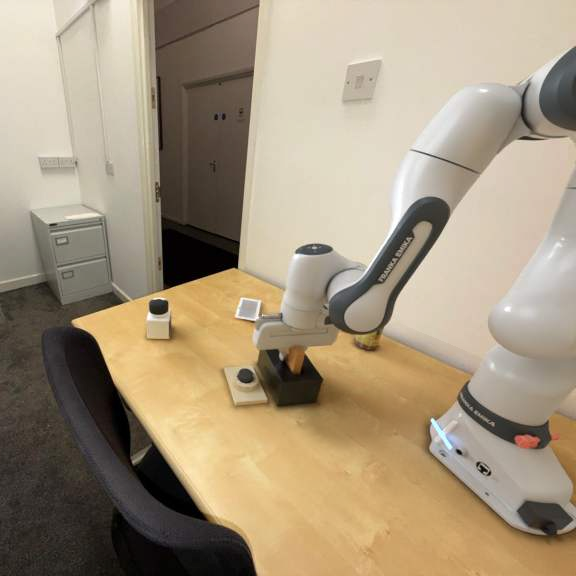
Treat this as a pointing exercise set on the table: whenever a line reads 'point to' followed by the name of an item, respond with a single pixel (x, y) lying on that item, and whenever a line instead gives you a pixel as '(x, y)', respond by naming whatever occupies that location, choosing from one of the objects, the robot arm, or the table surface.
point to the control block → (244, 387)
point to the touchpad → (248, 309)
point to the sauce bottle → (368, 340)
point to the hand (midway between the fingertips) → (289, 358)
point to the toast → (294, 359)
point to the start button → (245, 375)
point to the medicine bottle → (158, 319)
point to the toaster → (289, 380)
